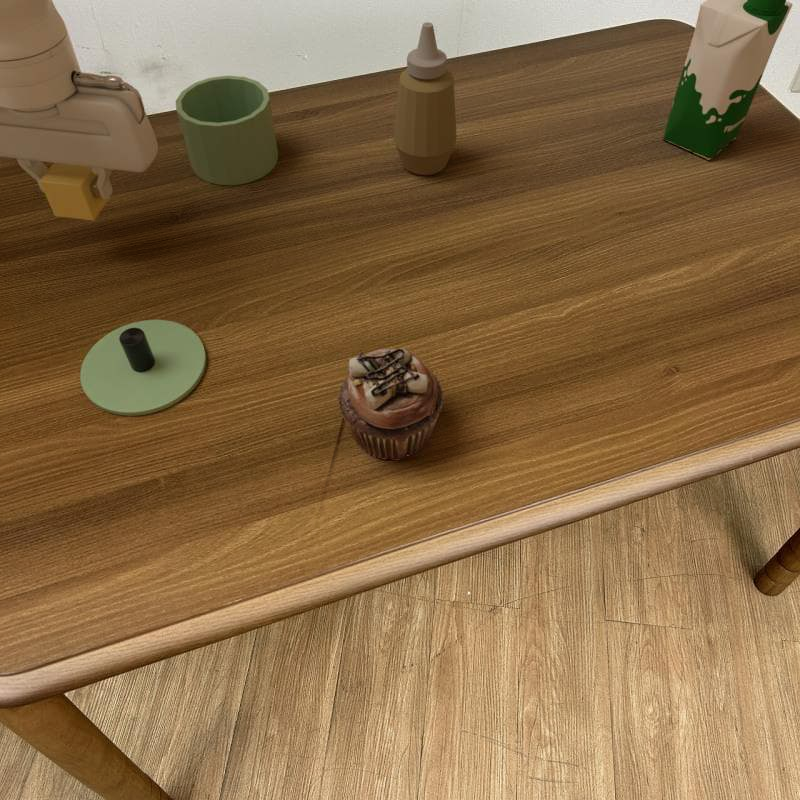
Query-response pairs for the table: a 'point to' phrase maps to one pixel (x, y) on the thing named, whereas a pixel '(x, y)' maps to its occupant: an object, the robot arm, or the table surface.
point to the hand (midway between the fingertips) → (77, 192)
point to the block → (71, 191)
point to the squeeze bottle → (425, 108)
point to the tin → (228, 129)
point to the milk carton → (723, 71)
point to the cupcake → (390, 402)
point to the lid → (143, 367)
